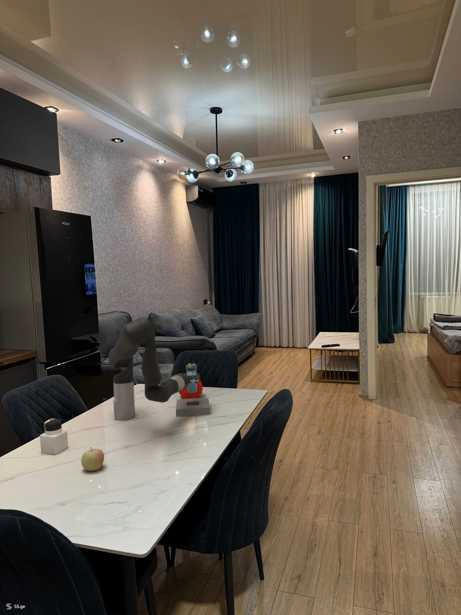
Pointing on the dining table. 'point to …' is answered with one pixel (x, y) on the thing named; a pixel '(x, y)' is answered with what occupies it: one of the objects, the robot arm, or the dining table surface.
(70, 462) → the dining table surface
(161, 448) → the dining table surface
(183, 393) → the tomato
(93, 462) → the fruit
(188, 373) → the plug
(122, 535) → the dining table surface
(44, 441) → the medicine bottle
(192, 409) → the socket block
